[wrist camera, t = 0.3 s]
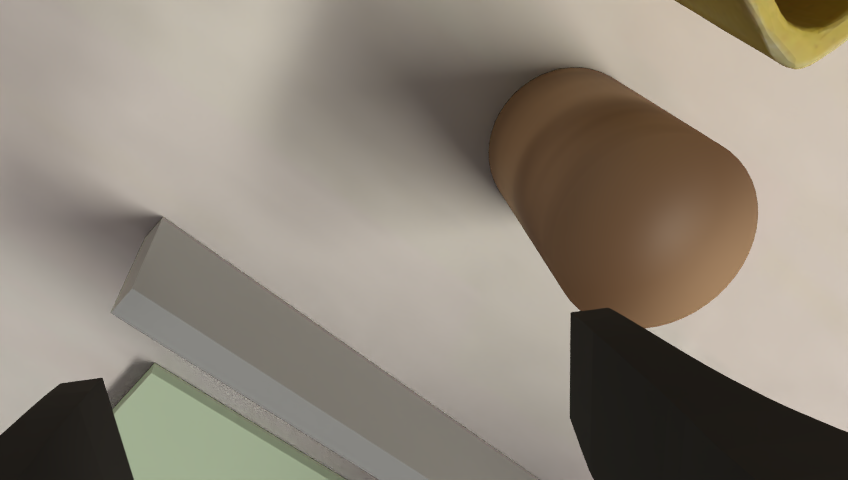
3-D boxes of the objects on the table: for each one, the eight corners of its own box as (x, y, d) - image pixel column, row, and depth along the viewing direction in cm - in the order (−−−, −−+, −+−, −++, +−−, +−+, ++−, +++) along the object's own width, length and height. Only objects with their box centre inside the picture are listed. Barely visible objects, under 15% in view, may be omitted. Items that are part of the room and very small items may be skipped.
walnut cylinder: (673, 139, 21) (796, 224, 16) (560, 248, 22) (641, 363, 17) (572, 32, 20) (673, 86, 14) (455, 155, 21) (509, 249, 15)
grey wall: (555, 490, 26) (594, 586, 23) (539, 505, 26) (575, 602, 23) (162, 216, 20) (132, 288, 17) (144, 237, 20) (110, 312, 17)
